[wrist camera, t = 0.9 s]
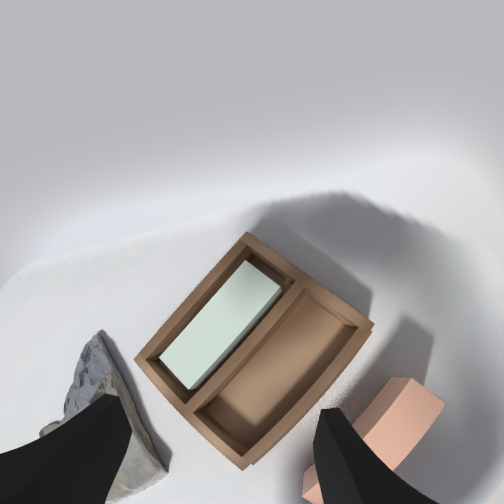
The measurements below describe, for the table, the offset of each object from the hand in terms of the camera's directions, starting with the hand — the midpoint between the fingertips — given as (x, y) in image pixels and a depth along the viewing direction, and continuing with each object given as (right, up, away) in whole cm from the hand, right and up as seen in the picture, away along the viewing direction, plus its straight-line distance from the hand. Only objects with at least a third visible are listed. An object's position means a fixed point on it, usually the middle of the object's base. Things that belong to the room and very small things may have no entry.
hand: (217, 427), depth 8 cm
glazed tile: (-1, 0, +13) cm, 13 cm away
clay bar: (+10, -8, +8) cm, 15 cm away
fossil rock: (-15, -13, +12) cm, 23 cm away
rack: (+1, -2, +13) cm, 13 cm away
